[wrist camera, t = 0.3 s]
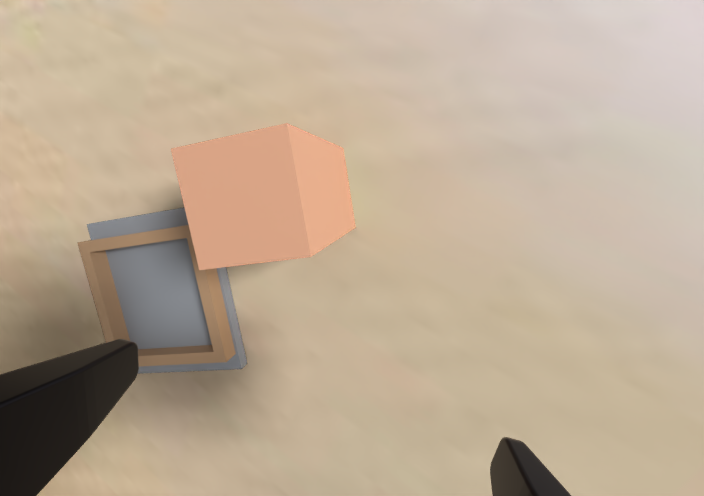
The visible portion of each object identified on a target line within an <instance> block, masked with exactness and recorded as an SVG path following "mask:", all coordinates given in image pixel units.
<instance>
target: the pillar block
mask: <svg viewBox="0 0 704 496" xmlns="http://www.w3.org/2000/svg"><path fill="white" fill-rule="evenodd" d="M171 152H172V156H173V160H174V164H175V169H176V173H177V177H178V182H179V186H180V190H181V194H182V199H183V203H184V207H185V211H186V216H187V220H188V224H189V229H190V233H191V237H192V241H193V246H194V250H195V254H196V259H197V263H198V267H199V270H206V269H214V268H222V267H231V266H239V265H247V264H256V263H264V262H272V261H280V260H289V259H297V258H305V257H312V256H313V255H315V254H316V253H318V252H319V251H321V250H322V249H324V248H325V247H327V246H328V245H330V244H331V243H333V242H334V241H336V240H337V239H339V238H341V237H342V236H344V235H345V234H347V233H348V232H350V231H351V230H353V229H354V228H356V226H355V220H354V213H353V207H352V201H351V194H350V188H349V181H348V175H347V169H346V162H345V156H344V150H343V148H342V147H340V146H337V145H335V144H333V143H331V142H328V141H326V140H324V139H322V138H319V137H317V136H315V135H312V134H310V133H308V132H306V131H303V130H301V129H299V128H297V127H294V126H292V125H290V124H288V123H286V124H281V125H277V126H272V127H268V128H263V129H258V130H254V131H249V132H245V133H240V134H236V135H231V136H227V137H222V138H218V139H213V140H208V141H204V142H199V143H195V144H190V145H186V146H181V147H177V148H172V149H171Z"/></svg>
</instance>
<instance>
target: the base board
mask: <svg viewBox="0 0 704 496" xmlns="http://www.w3.org/2000/svg"><path fill="white" fill-rule="evenodd" d="M87 227H88V230H89V234H90V238H91V240H90V241H84V242H78V246H79V250H80V253H81V257H82V260H83V264H84V267H85V271H86V274H87V278H88V281H89V285H90V288H91V292H92V295H93V299H94V302H95V306H96V309H97V312H98V316H99V319H100V323H101V326H102V330H103V333H104V337H105V340H106V343H107V342H110V341H114V340H117V339H124V340H128V341H132V342H135V343H136V344H137V346H138V360H139V370H138V373H161V372H184V371H207V370H229V369H242V368H243V367H244V366H245V365H246V364H247V360H246V356H245V351H244V347H243V342H242V338H241V333H240V329H239V324H238V319H237V315H236V310H235V306H234V301H233V297H232V292H231V288H230V283H229V279H228V274H227V270H226V267H222V268H214V269H206V270H199V267H198V263H197V259H196V254H195V250H194V246H193V241H192V237H191V233H190V229H189V224H188V220H187V216H186V211H185V208H179V209H173V210H167V211H161V212H156V213H150V214H144V215H138V216H132V217H126V218H121V219H115V220H109V221H103V222H97V223H91V224H87Z"/></svg>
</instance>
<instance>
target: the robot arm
mask: <svg viewBox="0 0 704 496" xmlns="http://www.w3.org/2000/svg"><path fill="white" fill-rule="evenodd" d="M138 370H139V360H138V346H137V344H136V343H135V342H132V341H128V340H124V339H117V340H114V341H110V342H107V343H104V344H100V345H97V346H94V347H90V348H87V349H84V350H80V351H77V352H74V353H70V354H67V355H64V356H60V357H57V358H54V359H50V360H47V361H44V362H41V363H37V364H34V365H31V366H27V367H24V368H21V369H17V370H14V371H11V372H7V373H4V374H1V375H0V496H36V495H37V494H38V493H39V492H40V491H41V490H42V489H43V488H44V487H45V486H46V485H47V483H48V482H49V481H50V480H51V479H52V478H53V477H54V476H55V475H56V474H57V473H58V471H59V470H60V469H61V468H62V467H63V466H64V465H65V464H66V463H67V462H68V461H69V459H70V458H71V457H72V456H73V455H74V454H75V453H76V452H77V451H78V450H79V449H80V447H81V446H82V445H83V444H84V443H85V442H86V441H87V440H88V438H89V437H90V436H91V435H92V434H93V432H94V431H95V430H96V429H97V428H98V426H99V425H100V424H101V422H102V421H103V420H104V419H105V417H106V416H107V415H108V413H109V412H110V411H111V410H112V408H113V407H114V406H115V404H116V403H117V402H118V401H119V399H120V398H121V397H122V395H123V394H124V393H125V392H126V390H127V389H128V388H129V386H130V385H131V384H132V382H133V381H134V380H135V378H136V376H137V374H138ZM490 476H491V485H492V494H493V496H571V495H570V494H569V493H568V491H567V490H566V489H565V488H564V487H563V486H562V485H561V484H560V483H559V481H558V480H557V479H556V478H555V477H554V476H553V475H552V474H551V472H550V471H549V470H548V469H547V468H546V467H545V466H544V465H543V464H542V462H541V461H540V460H539V459H538V458H537V457H536V456H535V455H534V453H533V452H532V451H531V450H530V449H529V448H528V447H527V446H526V445H525V444H524V443H523V442H522V441H520V440H516V439H512V438H508V437H504V438H502V439H501V441H500V443H499V445H498V448H497V450H496V453H495V455H494V457H493V460H492V462H491V467H490Z"/></svg>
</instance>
